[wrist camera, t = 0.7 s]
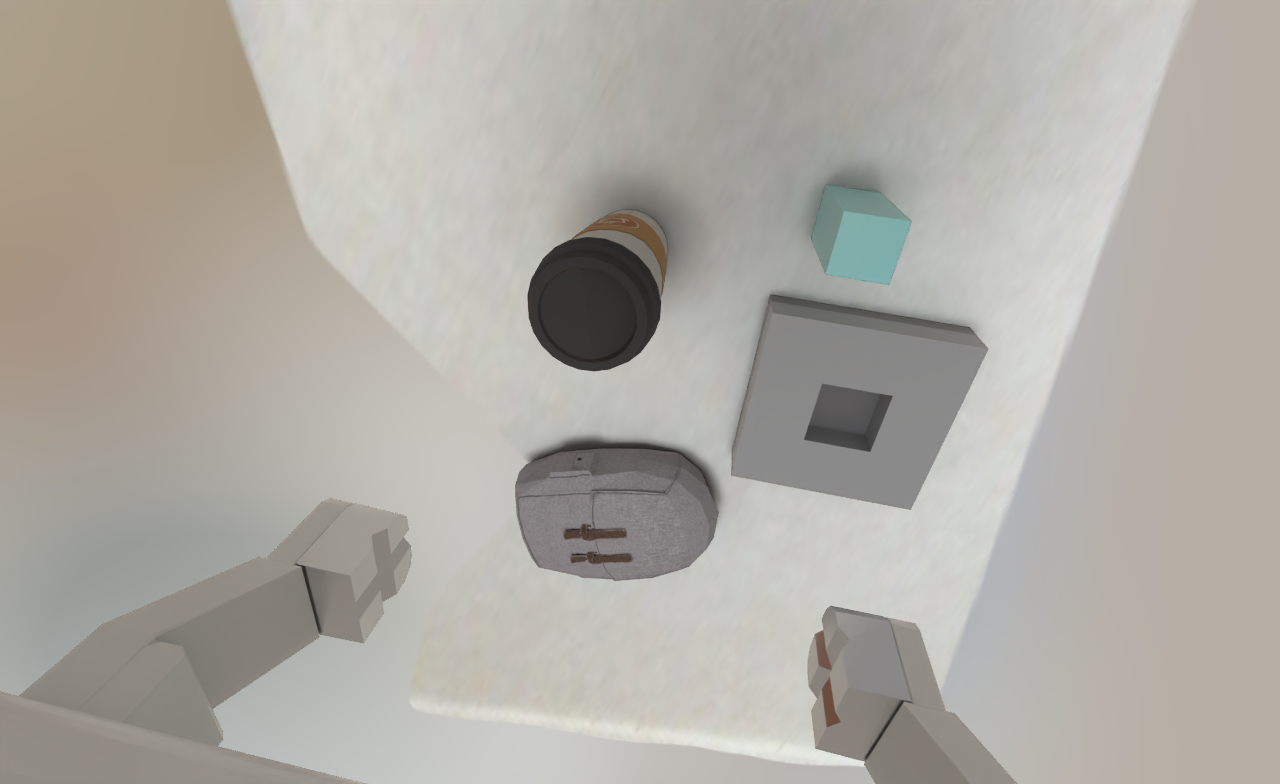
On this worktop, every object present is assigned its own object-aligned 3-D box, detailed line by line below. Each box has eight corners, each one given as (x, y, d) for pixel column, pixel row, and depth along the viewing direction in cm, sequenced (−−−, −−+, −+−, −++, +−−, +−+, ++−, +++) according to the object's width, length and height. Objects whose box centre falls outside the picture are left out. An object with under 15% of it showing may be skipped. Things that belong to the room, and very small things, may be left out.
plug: (825, 184, 42) (844, 211, 34) (880, 192, 41) (911, 221, 34) (811, 238, 44) (825, 274, 36) (863, 246, 43) (889, 284, 36)
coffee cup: (678, 192, 44) (651, 244, 31) (683, 295, 48) (660, 379, 35) (574, 197, 45) (506, 249, 32) (587, 297, 49) (532, 378, 36)
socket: (770, 294, 46) (772, 312, 43) (969, 327, 45) (988, 349, 42) (732, 449, 55) (731, 475, 51) (900, 481, 53) (910, 509, 50)
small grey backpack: (551, 544, 65) (725, 544, 61) (528, 603, 58) (723, 607, 54) (518, 436, 58) (712, 427, 54) (486, 488, 51) (707, 482, 47)
